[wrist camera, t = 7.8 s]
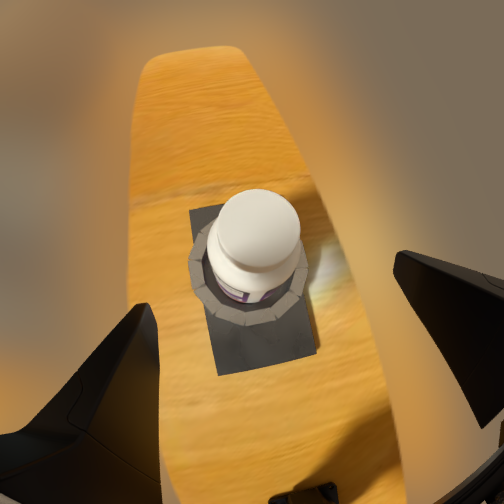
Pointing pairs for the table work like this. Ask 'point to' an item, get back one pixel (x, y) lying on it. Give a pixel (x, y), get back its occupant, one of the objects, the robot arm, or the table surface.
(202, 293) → the collar
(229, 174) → the table surface
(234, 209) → the pill bottle
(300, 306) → the plate
